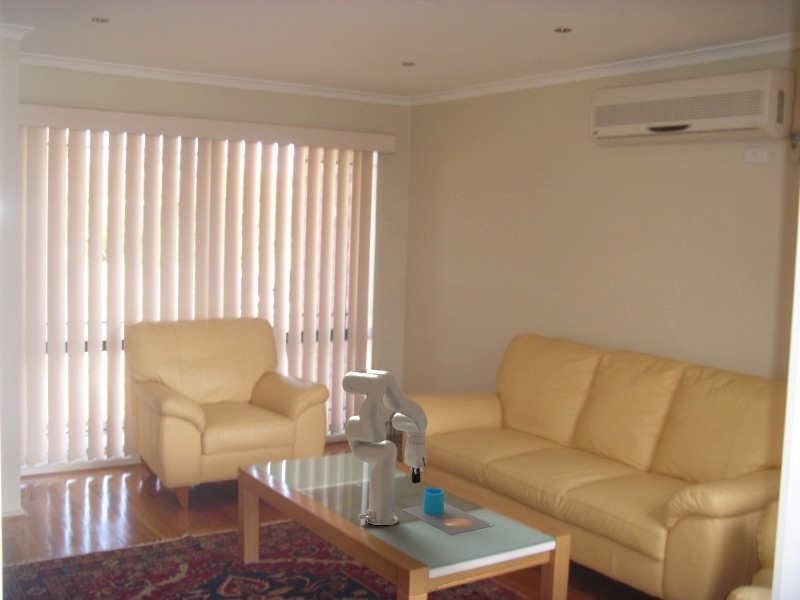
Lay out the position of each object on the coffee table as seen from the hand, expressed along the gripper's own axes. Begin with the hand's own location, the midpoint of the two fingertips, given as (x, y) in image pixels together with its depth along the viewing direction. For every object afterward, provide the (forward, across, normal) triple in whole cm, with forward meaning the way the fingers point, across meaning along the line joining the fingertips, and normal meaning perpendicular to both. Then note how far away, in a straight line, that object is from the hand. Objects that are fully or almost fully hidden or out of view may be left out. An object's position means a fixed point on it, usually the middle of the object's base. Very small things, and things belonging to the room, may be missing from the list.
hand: (416, 482), depth 353 cm
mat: (+8, +23, -1) cm, 24 cm away
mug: (+8, +13, -1) cm, 15 cm away
